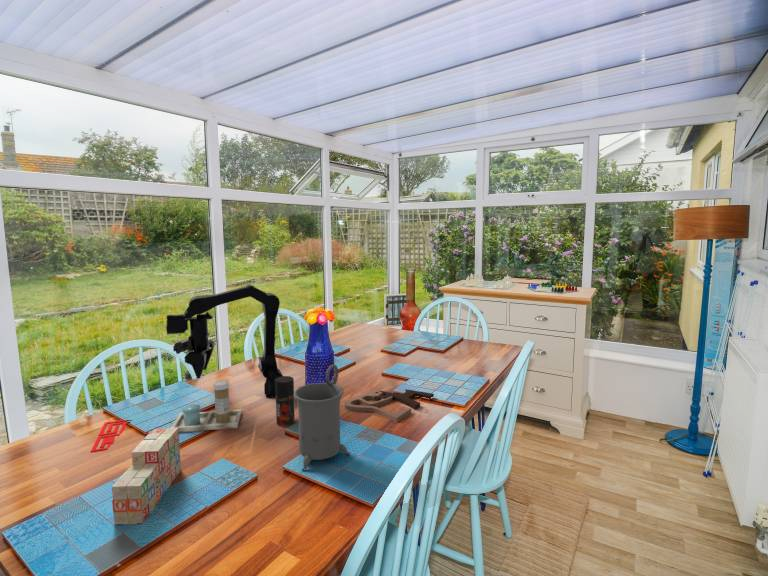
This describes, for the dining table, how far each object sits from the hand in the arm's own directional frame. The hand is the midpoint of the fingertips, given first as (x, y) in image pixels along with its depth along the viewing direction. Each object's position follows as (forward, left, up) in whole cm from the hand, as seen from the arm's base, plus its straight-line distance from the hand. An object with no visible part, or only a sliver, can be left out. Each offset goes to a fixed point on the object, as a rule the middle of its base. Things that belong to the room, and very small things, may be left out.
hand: (201, 373), depth 155 cm
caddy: (-5, +17, -12) cm, 21 cm away
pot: (0, +17, -11) cm, 20 cm away
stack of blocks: (+1, +53, -12) cm, 55 cm away
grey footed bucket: (-41, +42, -12) cm, 60 cm away
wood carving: (-67, +9, -13) cm, 69 cm away
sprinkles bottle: (-10, +17, -11) cm, 22 cm away
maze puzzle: (+17, +17, -13) cm, 27 cm away
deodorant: (-30, +19, -12) cm, 38 cm away
